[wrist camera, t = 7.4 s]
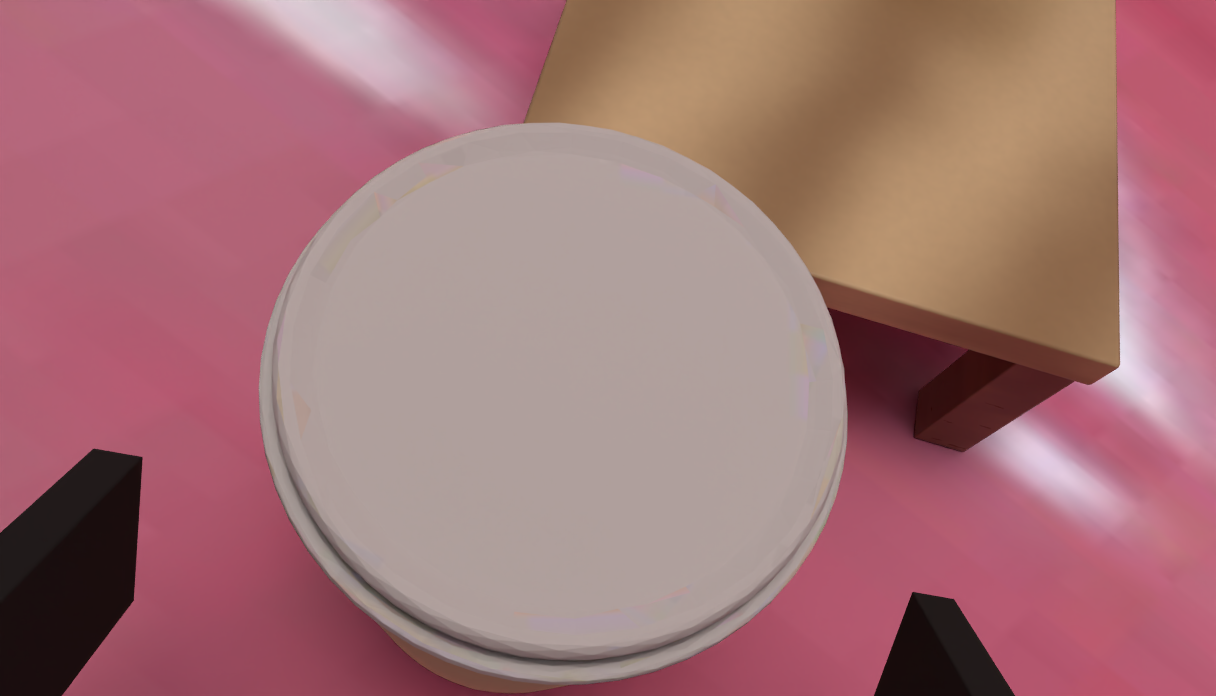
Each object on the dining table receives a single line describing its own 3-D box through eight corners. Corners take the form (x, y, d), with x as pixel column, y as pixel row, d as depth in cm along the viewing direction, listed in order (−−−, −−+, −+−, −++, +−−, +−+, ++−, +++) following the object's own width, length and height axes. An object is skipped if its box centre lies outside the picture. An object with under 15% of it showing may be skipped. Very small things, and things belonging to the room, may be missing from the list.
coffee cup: (750, 602, 26) (982, 465, 15) (438, 811, 22) (449, 829, 12) (569, 324, 28) (656, 37, 17) (265, 475, 25) (142, 234, 14)
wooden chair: (484, 319, 28) (532, -67, 15) (609, -55, 35) (712, -527, 22) (969, 460, 29) (1392, 202, 16) (995, 67, 36) (1301, -324, 23)
